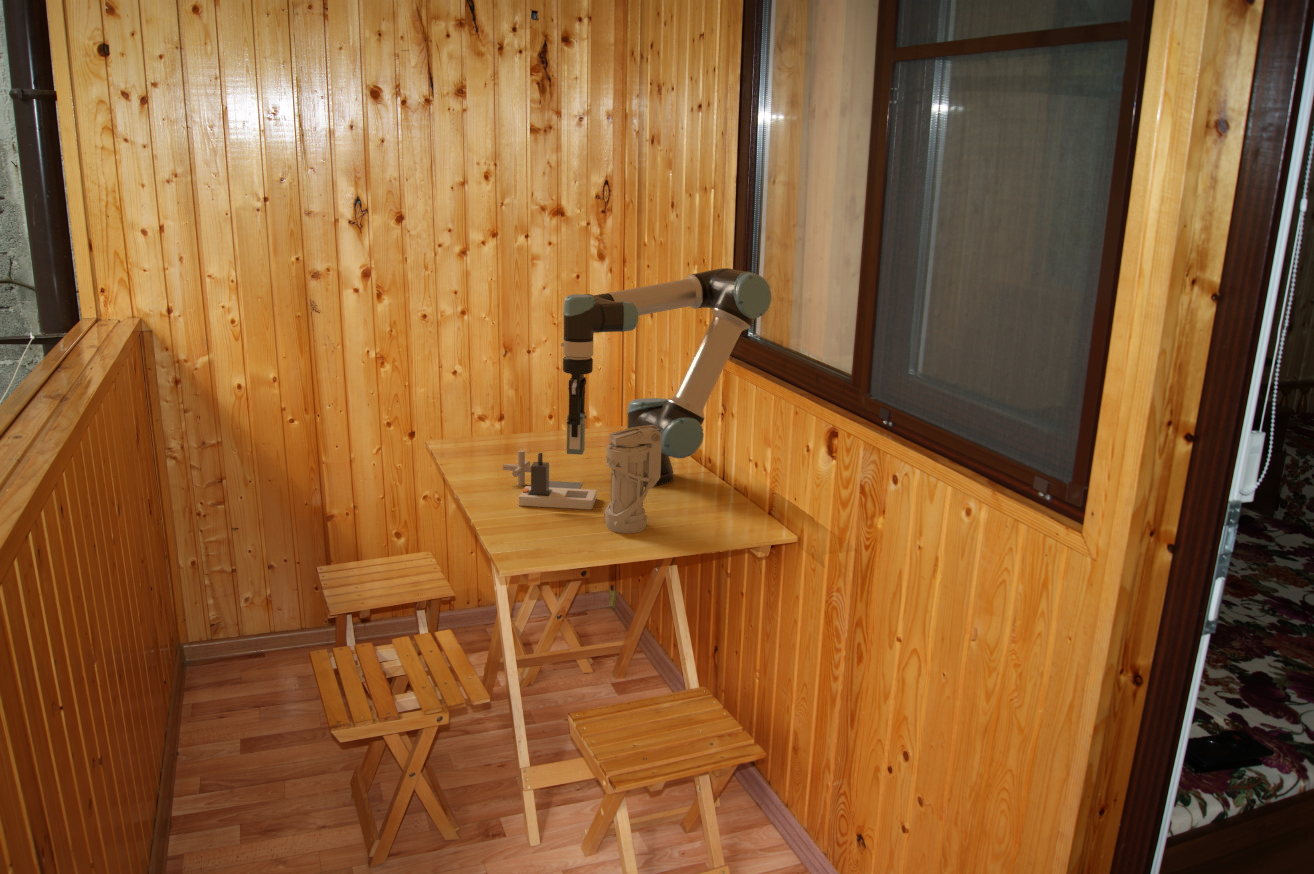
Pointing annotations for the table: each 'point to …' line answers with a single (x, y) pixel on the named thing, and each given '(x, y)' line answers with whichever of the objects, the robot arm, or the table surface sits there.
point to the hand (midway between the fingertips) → (576, 446)
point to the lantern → (632, 476)
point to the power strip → (560, 498)
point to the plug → (582, 436)
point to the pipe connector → (519, 467)
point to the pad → (565, 484)
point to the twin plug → (540, 477)
